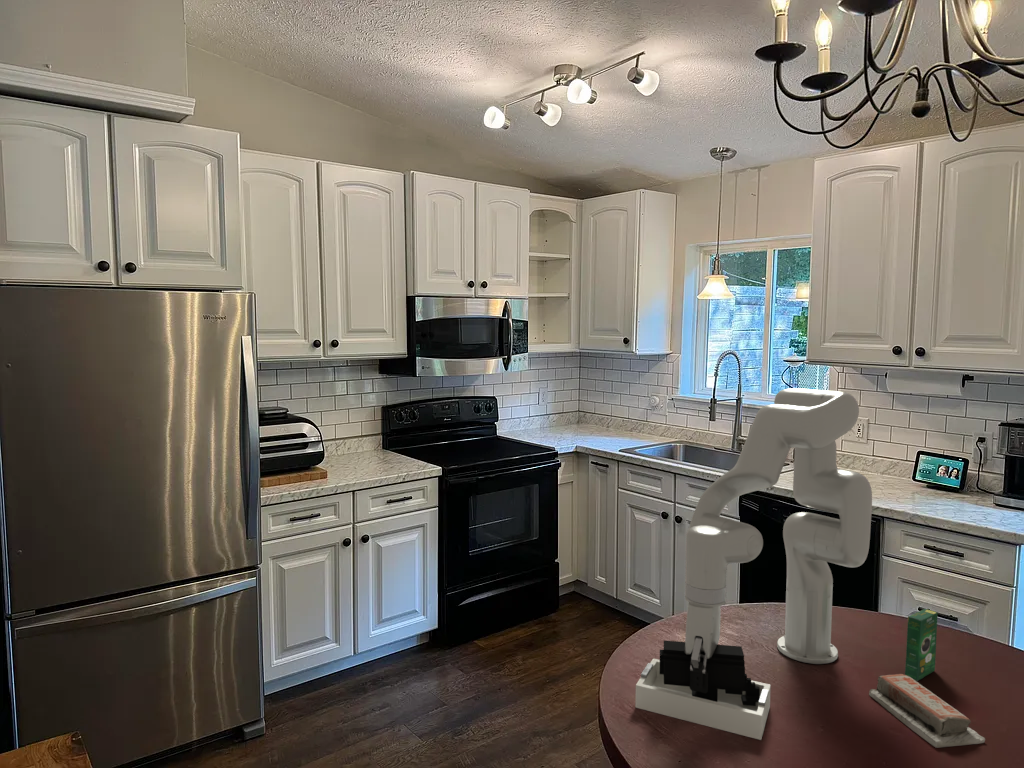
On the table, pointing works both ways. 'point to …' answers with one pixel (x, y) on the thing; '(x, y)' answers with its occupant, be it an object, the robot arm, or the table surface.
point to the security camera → (710, 671)
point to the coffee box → (921, 644)
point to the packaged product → (924, 712)
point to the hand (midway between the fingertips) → (703, 679)
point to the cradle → (702, 704)
